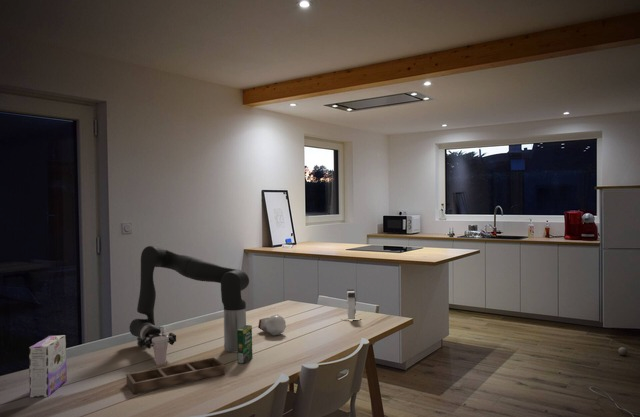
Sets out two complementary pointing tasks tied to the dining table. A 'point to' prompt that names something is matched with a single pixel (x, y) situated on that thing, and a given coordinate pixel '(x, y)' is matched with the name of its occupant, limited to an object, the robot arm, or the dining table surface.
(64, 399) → the dining table surface
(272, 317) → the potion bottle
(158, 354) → the smoothie
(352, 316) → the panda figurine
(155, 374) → the tray
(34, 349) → the candy box
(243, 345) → the coffee box
